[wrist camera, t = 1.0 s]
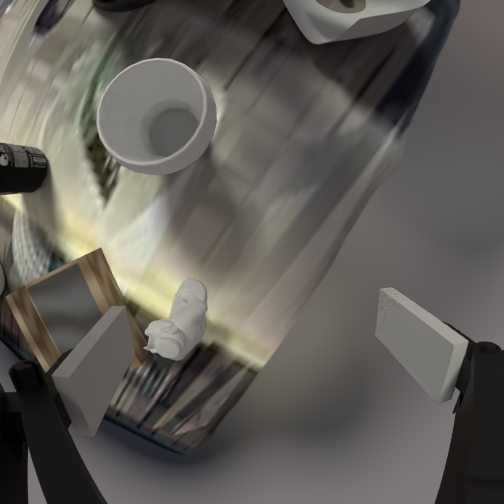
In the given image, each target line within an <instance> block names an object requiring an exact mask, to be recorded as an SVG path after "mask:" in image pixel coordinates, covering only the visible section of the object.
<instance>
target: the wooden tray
mask: <svg viewBox="0 0 504 504" xmlns="http://www.w3.org/2000/svg"><path fill="white" fill-rule="evenodd" d="M6 300H7V302H8V304H9V306H10V308H11V310H12V312H13V314H14V316H15V318H16V320H17V322H18V324H19V326H20V328H21V330H22V332H23V334H24V336H25V338H26V340H27V341H28V343H29V345H30V347H31V348H32V350H33V352H34V354H35V355H36V357H37V359H38V360H39V362H40V364H41V365H42V367H43V369H44V370H45V372H47V371H48V370H49V369H50V367H51V366H53V364H54V363H55V362H56V361H57V359H58V358H59V357H60V356H61V355H62V354H63V353H65V352H66V351H68V350H70V349H74V348H75V347H76V346H77V345H78V344H79V342H80V341H81V340H82V339H83V338H84V337H85V336H86V334H87V333H88V332H89V331H90V330H91V329H92V328H93V327H94V325H95V324H96V323H97V322H98V321H99V320H100V319H101V318H102V317H103V315H104V314H105V313H106V312H107V311H108V310H109V309H110V308H111V307H112V306H126V312H127V317H128V322H129V327H130V332H131V336H132V341H133V345H134V350H135V355H134V356H133V358H132V360H131V362H130V365H131V366H132V368H133V369H134V368H137V367H140V366H142V365H143V363H144V361H145V358H146V356H147V354H148V352H149V350H146V349H144V347H147V345H148V344H147V342H146V340H145V338H144V336H143V334H142V333H141V331H140V329H139V327H138V325H137V323H136V321H135V319H134V317H133V315H132V313H131V311H130V310H129V308H128V306H127V304H126V301H125V299H124V297H123V295H122V293H121V291H120V289H119V287H118V285H117V283H116V281H115V278H114V276H113V274H112V272H111V270H110V267H109V265H108V263H107V261H106V258H105V256H104V254H103V251H102V249H101V248H99V249H97V250H95V251H93V252H90V253H88V254H86V255H84V256H82V257H80V258H78V259H76V260H74V261H72V262H70V263H68V264H66V265H64V266H62V267H60V268H58V269H56V270H54V271H52V272H50V273H48V274H46V275H44V276H42V277H41V278H39V279H37V280H35V281H33V282H31V283H29V284H27V285H25V286H24V287H22V288H20V289H18V290H16V291H15V292H13V293H11V294H9V295H8V296H6Z"/></svg>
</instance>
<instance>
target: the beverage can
mask: <svg viewBox="0 0 504 504" xmlns="http://www.w3.org/2000/svg"><path fill="white" fill-rule="evenodd" d="M46 173H47V161H46V157H45V155H44V154H43V152H42V151H41V150H40V149H38V148H34V147H27V146H20V145H13V144H6V143H0V195H7V194H18V193H30V192H34V191H36V190H37V189H38V188H39V187H40V186H41V185H42V184H43V182H44V180H45V177H46Z"/></svg>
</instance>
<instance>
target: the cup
mask: <svg viewBox="0 0 504 504" xmlns="http://www.w3.org/2000/svg"><path fill="white" fill-rule="evenodd" d="M216 123H217V116H216V104H215V100H214V97H213V94H212V91H211V89H210V87H209V86H208V84H207V83H206V82H205V80H204V79H203V78H202V77H201V76H200V75H199V74H197V73H196V72H195V71H193V70H192V69H191V68H189V67H188V66H186V65H185V64H183V63H180V62H178V61H175V60H172V59H164V58H154V59H148V60H143V61H140V62H138V63H135V64H133V65H131V66H129V67H127V68H126V69H125V70H123V71H122V72H120V73H119V74H118V75H117V76H116V77H115V78H114V79H113V80H112V81H111V82H110V84H109V85H108V86H107V88H106V90H105V91H104V93H103V95H102V97H101V99H100V103H99V106H98V110H97V128H98V132H99V136H100V139H101V141H102V142H103V144H104V146H105V148H106V149H107V151H108V152H109V153H110V154H111V156H112V157H113V158H114V159H116V160H117V161H118V162H119V163H120V164H121V165H122V166H124V167H126V168H128V169H130V170H132V171H134V172H138V173H144V174H149V175H163V174H171V173H173V172H176V171H179V170H182V169H184V168H186V167H187V166H189V165H190V164H192V163H193V162H195V161H196V160H198V159H199V158H200V157H201V156H202V155H203V153H204V152H205V150H206V149H207V147H208V145H209V143H210V141H211V140H212V138H213V135H214V131H215V127H216Z"/></svg>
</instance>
